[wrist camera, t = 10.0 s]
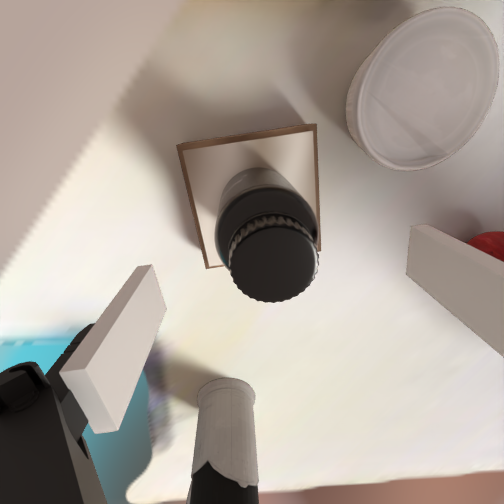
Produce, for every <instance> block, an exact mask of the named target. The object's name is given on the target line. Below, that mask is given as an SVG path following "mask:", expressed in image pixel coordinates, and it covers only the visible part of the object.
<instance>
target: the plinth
mask: <svg viewBox="0 0 504 504" xmlns="http://www.w3.org/2000/svg"><path fill="white" fill-rule="evenodd" d="M176 146H177V150H178V154H179V158H180V162H181V167H182V171H183V175H184V179H185V183H186V188H187V192H188V196H189V200H190V204H191V208H192V213H193V217H194V221H195V225H196V229H197V234H198V238H199V242H200V246H201V250H202V254H203V259H204V263H205V267H206V269H209V268H215V267H222V266H224V265H223V263H222V262H221V260H220V258H219V256H218V254H217V251H216V247H215V241H214V232H215V225H216V219H217V214H218V209H219V204H220V199H221V195H222V192H223V190H224V188H225V186H226V185H227V183H228V182H229V181H230V179H231V178H233V177H234V176H235V175H236V174H238V173H239V172H241V171H243V170H246V169H249V168H255V167H262V168H268V169H271V170H274V171H276V172H278V173H279V174H281V175H282V176H283V177H284V178H285V179H287V180H288V181H289V183H290V184H291V185H292V186H293V187H294V188H295V189H296V190H297V191H298V192H299V193H300V194H301V196H302V197H303V198H304V199H305V200H306V201H307V202H308V204H309V205H310V206H311V208H312V210H313V211H314V213H315V216H316V218H317V222H318V227H319V240H318V245H317V252H319V251H321V233H320V205H319V177H318V149H317V124H304V125H298V126H291V127H285V128H278V129H272V130H265V131H259V132H252V133H246V134H239V135H233V136H226V137H220V138H213V139H207V140H200V141H194V142H187V143H182V144H178V145H176Z"/></svg>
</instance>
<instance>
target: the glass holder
mask: <svg viewBox="0 0 504 504" xmlns="http://www.w3.org/2000/svg"><path fill="white" fill-rule="evenodd" d="M197 402H198V406H199V414H198V423H197V431H196V440H195V448H194V457H193V465H192V474H191V478H192V481H191V485H190V488H189V493H188V497H187V501H186V504H259V500H258V486H257V484H258V482H259V478H258V465H257V452H256V439H255V425H254V412H253V405H254V403H255V392H254V390H253V388H252V387H251V386H250V385H249V384H247V383H246V382H244V381H242V380H239V379H234V378H221V379H216V380H213V381H211V382H209V383H207V384H206V385H204V386H203V387H202V388H201V390H200V391H199V393H198V396H197Z"/></svg>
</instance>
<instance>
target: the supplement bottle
mask: <svg viewBox="0 0 504 504" xmlns="http://www.w3.org/2000/svg"><path fill="white" fill-rule="evenodd" d="M318 240H319V227H318V222H317V218H316V216H315V213H314V211H313V210H312V208H311V206H310V205H309V204H308V202H307V201H306V200H305V199H304V198H303V197H302V196H301V194H300V193H299V192H298V191H297V190H296V189H295V188H294V187H293V186H292V185H291V184H290V183H289V181H288V180H287V179H285V178H284V177H283V176H282V175H281V174H279V173H278V172H276V171H274V170H271V169H268V168H262V167H255V168H249V169H246V170H243V171H241V172H239V173H238V174H236V175H235V176H234V177H233V178H231V179H230V181H229V182H228V183H227V185H226V186H225V188H224V190H223V192H222V195H221V199H220V204H219V209H218V214H217V219H216V225H215V232H214V241H215V247H216V251H217V254H218V256H219V258H220V260H221V262H222V263H223V265H224V266H225V267H226V268H227V269H228V270H229V271H230V275H231V276H232V277H233V282H234V283H235V284H236V285H237V287H238V289H240V290H242V292H243V294H245V295H248V296H249V297H250V298H253V299H255V300H257V301H263V302H265V303H266V302H272V303H275V302H282V301H284V300H290V299H291V298H292V297H295V296H298V295H299V293H301V292H303V291H304V290H305V289H306V287H308V286H310V283H311V281H313V280H314V278H315V274H316V273H317V267H318V265H319V262H318V258H319V254H318V253H317V245H318Z"/></svg>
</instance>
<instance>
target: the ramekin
mask: <svg viewBox="0 0 504 504" xmlns="http://www.w3.org/2000/svg"><path fill="white" fill-rule="evenodd" d="M498 78H499V54H498V47H497V43H496V41H495V39H494V37H493V34H492V33H491V31H490V29H489V28H488V26H487V25H486V24H485V23H484V21H483V20H482V19H480V18H479V17H478V16H477V15H475V14H473V13H472V12H470V11H468V10H465V9H462V8H456V7H439V8H435V9H430V10H427V11H424V12H421V13H419V14H417V15H415V16H413V17H411V18H409V19H408V20H406V21H404V22H403V23H401V24H400V25H398V26H397V27H396V28H394V29H393V30H392V31H391V32H390V33H389V34H388V35H386V36H385V37H384V38H383V40H382V41H381V42H380V43H379V44H378V45H377V47H376V48H375V49H374V51H373V52H372V53H371V54H370V55H369V56H368V57H367V58H366V60H365V61H364V62H363V63H362V64H361V66H360V68H359V69H358V71H357V72H356V74H355V76H354V78H353V80H352V82H351V85H350V88H349V91H348V95H347V101H346V120H347V127H348V129H349V132H350V134H351V136H352V138H353V139H354V140H355V142H356V144H357V145H359V147H360V148H361V149H363V150H364V151H365V153H366V154H367V155H368V156H369V157H370V158H371V159H373V160H374V161H375V162H377V163H378V164H380V165H382V166H384V167H386V168H390V169H394V170H400V171H414V170H421V169H425V168H428V167H431V166H434V165H436V164H438V163H440V162H442V161H444V160H445V159H447V158H449V157H450V156H451V155H453V154H454V153H455V152H457V151H458V150H459V149H460V148H461V147H462V146H464V145H465V144H466V143H467V142H468V141H469V139H470V138H471V137H472V136H473V135H474V134H475V132H476V131H477V130H478V128H479V127H480V125H481V124H482V122H483V120H484V118H485V117H486V115H487V113H488V111H489V109H490V107H491V104H492V101H493V98H494V95H495V92H496V89H497V85H498Z"/></svg>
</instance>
